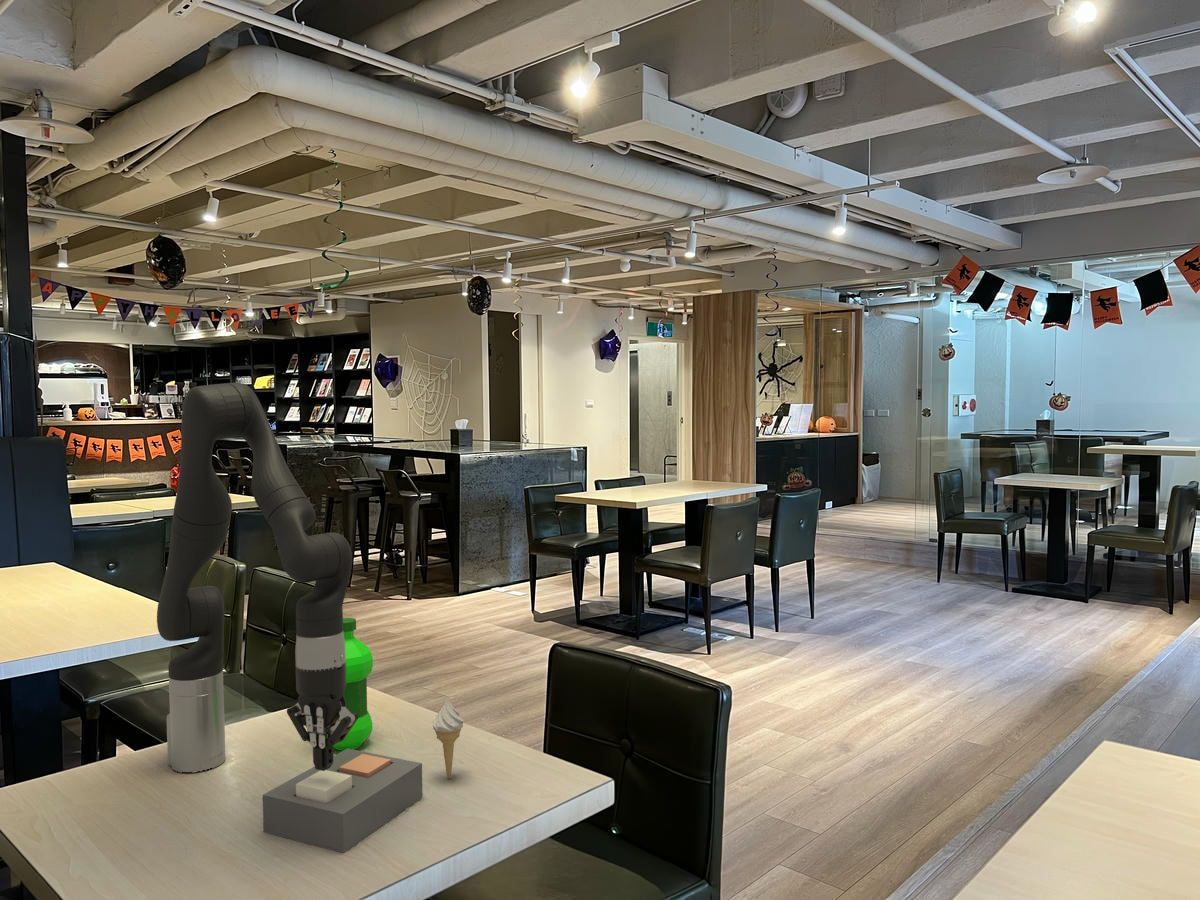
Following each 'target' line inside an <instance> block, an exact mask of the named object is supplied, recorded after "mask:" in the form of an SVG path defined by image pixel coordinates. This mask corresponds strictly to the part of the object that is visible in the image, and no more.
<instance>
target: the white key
mask: <svg viewBox="0 0 1200 900" xmlns="http://www.w3.org/2000/svg"><path fill="white" fill-rule="evenodd" d="M350 789H352V776H351V775H346V774H342V773H337V772H332V771H328V770H325V771H321V770H320V771H319V772H317V773H315V774H313V775H311V776H310V777H308V778H306V779H304V780H302V781H301V782H299V783H297V784H296V797H299V798H303V799H308V800H312V801H316V802H321V803H325V804H327V803H329V802H330V801H332V800H334V799H335V798H337V797H338V796H340V795H342V794H343V793H345V792H347V791H348V790H350Z"/></svg>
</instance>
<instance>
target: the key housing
mask: <svg viewBox="0 0 1200 900" xmlns="http://www.w3.org/2000/svg"><path fill="white" fill-rule="evenodd" d="M362 754H366V755H371V756H376V757H381V758H386V759H391V765H389V766H387V767H386V768H384V769H383V770H381V771H379V772H378V773H376V774H374V775H373V776H371V777H370V778H366V777H361V776H356V775H352V774H347V773H342V772H339V767H340V766H342V765H344V764H346V763H347V762H349V761H351V760H353V759H355V758H356V757H358V756H360V755H362ZM327 770H328V771H332V772H337V773H342V774H346V775H351V776H352V789H350V790H348V791H347V792H345V793H343V794H342V795H340V796H338V797H337V798H335V799H334V800H332V801H330V802H329V803H327V804H325V803H321V802H316V801H312V800H308V799H303V798H299V797H296V784H297V783H299V782H301V781H302V780H304V779H306V778H308V777H310V776H311V775H313V774H315V773H317V772H319V771H320V770H316V769H315V765H314V766H313V767H311V768H309V769H307V770H305V771H304V772H302V773H300V774H298V775H296V776H294V777H292V778H291V779H289V780H287V781H285V782H283V783H282V784H279V785H277V786H276V787H273V789H270V790H269V791H267V792H265V793H263V794H262V798H261V799H262V821H263V822H262V829H263V833H266V834H270V835H273V836H276V837H277V836H278V837H282V838H286V839H289V840H293V841H297V842H300V843H304V844H309V845H312V846H315V847H316V846H317V847H320V848H324V849H327V850H332V851H336V852H339V853H343V854H344V853H346V852H347V851H349V850H350V849H352V848H353V847H354V846H356V845H357V844H359V843H360V842H361V841H363V840H364V839H366V838H367V837H368V836H370V835H371V834H373V833H374V832H376V831H378V829H380V828H382V827H383V826H384V825H385V824H387V823H388V822H390V821H391V820H393V819H394V818H395V817H397V816H399V815H400V814H401V813H403V812H404V811H405V810H407V809H409V808H410V807H411V806H413V805H414V804H416V803H417V802H418V801H420V800H422V798H423V763H421V762H417V761H412V760H407V759H402V758H397V757H392V756H387V755H383V754H377V753H372V752H367V751H363V750H362V751H361V750H357V749H348V748H347V749H346V750H344V751H340V752H338V753H337V754H334V755H333V764H332V765H331V767H330V768H328V769H327Z"/></svg>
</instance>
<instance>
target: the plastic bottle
mask: <svg viewBox="0 0 1200 900" xmlns="http://www.w3.org/2000/svg"><path fill="white" fill-rule="evenodd" d="M356 630H357V619H356V618H355V617H343V634H344V640H345V657H346V687H345V689H344V693H343V695H344V698H345V701H346V708H347V709H348V710H349V712H350V713H351V714H353V713H357V715H358V720H357V721H356V722H355V724H354V725H353V727H352V728H351V730H350V731H349V733H348V734H347V736H346V737H345V738H344V740H343V741H341V742H339V743H337V744H335V745H334V746H333V749H335V750H338V751H340V752H342V751H344V750H346V749H347V748H348V749H353V750H357V749H358V748H359V747H361V746H362V744H364V742H365V741H367V739H368V738H369V737H370V736H371V734H372V731H373V720H372V717H371V714H370V712H369V710H368V688H367V680H368V679H367V677H368V676H369V675H370V674H371V673H372V671H373V667H374V659H373V655H372V652H371V649H370V647H369V646H367V645H366V644H365V643H363V641H361V640H360V639H358V637H356V636H355V634H354V631H356ZM339 718H340V717H339ZM338 720H339V719H338ZM338 725H339V724H338ZM327 737H328V734H327Z"/></svg>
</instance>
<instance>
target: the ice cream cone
mask: <svg viewBox="0 0 1200 900" xmlns="http://www.w3.org/2000/svg"><path fill="white" fill-rule="evenodd" d="M431 723H432V729H433V730H434V732H435V734H436V739H438V740H439V741H440V742H441V743H442V750H443V756H444V764H445V770H446V772H445V774H446V777H447V779H448V780H450V779H451V778H452V772H453V759H454V749H455V748H454V747H455V743H456V740H457V739H458V738H459V737H460V736H461V735H460V734H461V730H462V728H463V727H464V723H465V722H464V718H462V717H461V715H460V713H459V712H458V710H457V708H455V707H454V705H453V704H452V702H451V701H450V699H449V697H448V696H447V698H446V699H445V702H444V704H443V706H441V709H440V710H439V712H438V713H437V715H436V716H435V717H434V718H433V720H432V722H431Z"/></svg>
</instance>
